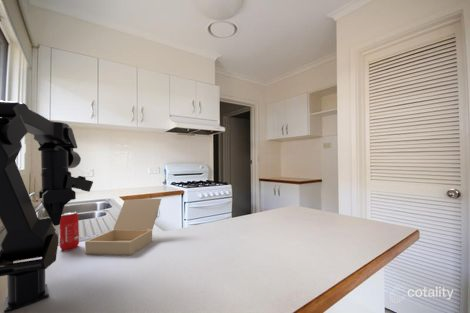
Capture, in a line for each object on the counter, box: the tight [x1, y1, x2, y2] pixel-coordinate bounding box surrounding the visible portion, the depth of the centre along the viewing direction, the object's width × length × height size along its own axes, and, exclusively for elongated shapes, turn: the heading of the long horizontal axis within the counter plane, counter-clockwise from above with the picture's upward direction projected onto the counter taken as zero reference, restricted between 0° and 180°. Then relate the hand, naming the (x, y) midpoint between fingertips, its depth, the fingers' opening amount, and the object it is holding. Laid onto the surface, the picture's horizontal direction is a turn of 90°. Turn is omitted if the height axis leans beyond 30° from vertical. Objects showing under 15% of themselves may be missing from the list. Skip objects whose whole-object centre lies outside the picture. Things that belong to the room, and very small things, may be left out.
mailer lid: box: [113, 198, 162, 231], centre depth 82 cm, size 12×16×1 cm
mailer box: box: [84, 229, 153, 256], centre depth 72 cm, size 12×16×4 cm
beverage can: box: [59, 211, 80, 252], centre depth 74 cm, size 5×5×12 cm
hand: (56, 225), depth 58 cm, fingers closed
